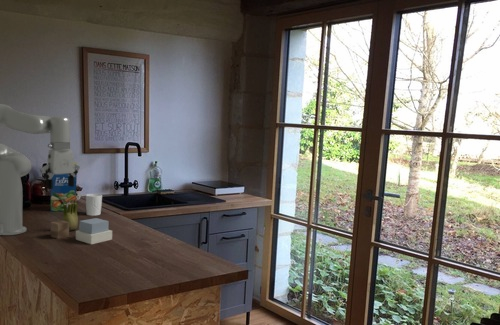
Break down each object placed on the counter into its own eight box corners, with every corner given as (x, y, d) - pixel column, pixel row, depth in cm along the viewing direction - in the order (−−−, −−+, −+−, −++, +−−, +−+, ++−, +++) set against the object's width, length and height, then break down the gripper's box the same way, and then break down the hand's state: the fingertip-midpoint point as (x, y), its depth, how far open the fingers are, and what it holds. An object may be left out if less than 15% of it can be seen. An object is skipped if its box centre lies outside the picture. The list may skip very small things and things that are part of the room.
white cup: (104, 213, 225) (104, 194, 224) (97, 216, 217) (98, 196, 216) (89, 212, 226) (90, 193, 225) (82, 215, 218) (82, 195, 217)
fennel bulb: (62, 231, 186) (63, 204, 185) (64, 228, 191) (64, 201, 190) (77, 231, 188) (77, 204, 187) (78, 228, 192) (78, 201, 191)
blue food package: (75, 211, 226) (76, 163, 224) (50, 211, 222) (51, 163, 220) (76, 208, 232) (76, 162, 230) (51, 209, 228) (52, 161, 225)
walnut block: (57, 239, 175) (58, 224, 175) (50, 236, 178) (50, 222, 177) (68, 236, 179) (69, 222, 179) (61, 234, 182) (61, 220, 181)
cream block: (91, 245, 170) (91, 235, 170) (75, 240, 176) (75, 230, 175) (112, 240, 179) (112, 230, 178) (96, 235, 184) (96, 226, 184)
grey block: (91, 234, 171) (92, 224, 171) (79, 230, 176) (79, 220, 175) (108, 230, 178) (108, 221, 178) (95, 227, 183) (96, 218, 182)
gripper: (45, 147, 170) (46, 190, 172) (84, 146, 184) (84, 186, 186) (35, 146, 174) (35, 188, 176) (73, 145, 189) (73, 184, 190)
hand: (60, 187), depth 181 cm, fingers open, 9 cm apart
